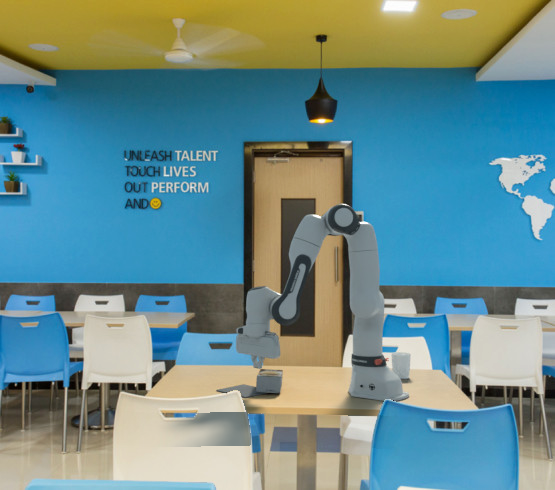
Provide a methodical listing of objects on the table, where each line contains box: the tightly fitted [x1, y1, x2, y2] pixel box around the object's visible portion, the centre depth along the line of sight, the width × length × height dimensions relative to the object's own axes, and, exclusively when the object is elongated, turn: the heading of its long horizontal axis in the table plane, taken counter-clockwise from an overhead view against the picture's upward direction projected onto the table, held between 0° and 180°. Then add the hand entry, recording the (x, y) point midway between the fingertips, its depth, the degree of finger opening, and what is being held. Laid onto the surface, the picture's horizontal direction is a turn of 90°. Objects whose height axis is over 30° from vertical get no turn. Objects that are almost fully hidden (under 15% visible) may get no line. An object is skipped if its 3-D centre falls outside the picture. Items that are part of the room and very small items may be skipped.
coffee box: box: [255, 368, 283, 394], centre depth 221 cm, size 9×6×16 cm
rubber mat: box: [216, 384, 266, 399], centre depth 219 cm, size 16×14×1 cm
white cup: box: [391, 351, 412, 380], centre depth 246 cm, size 8×8×10 cm
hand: (257, 368), depth 214 cm, fingers closed
